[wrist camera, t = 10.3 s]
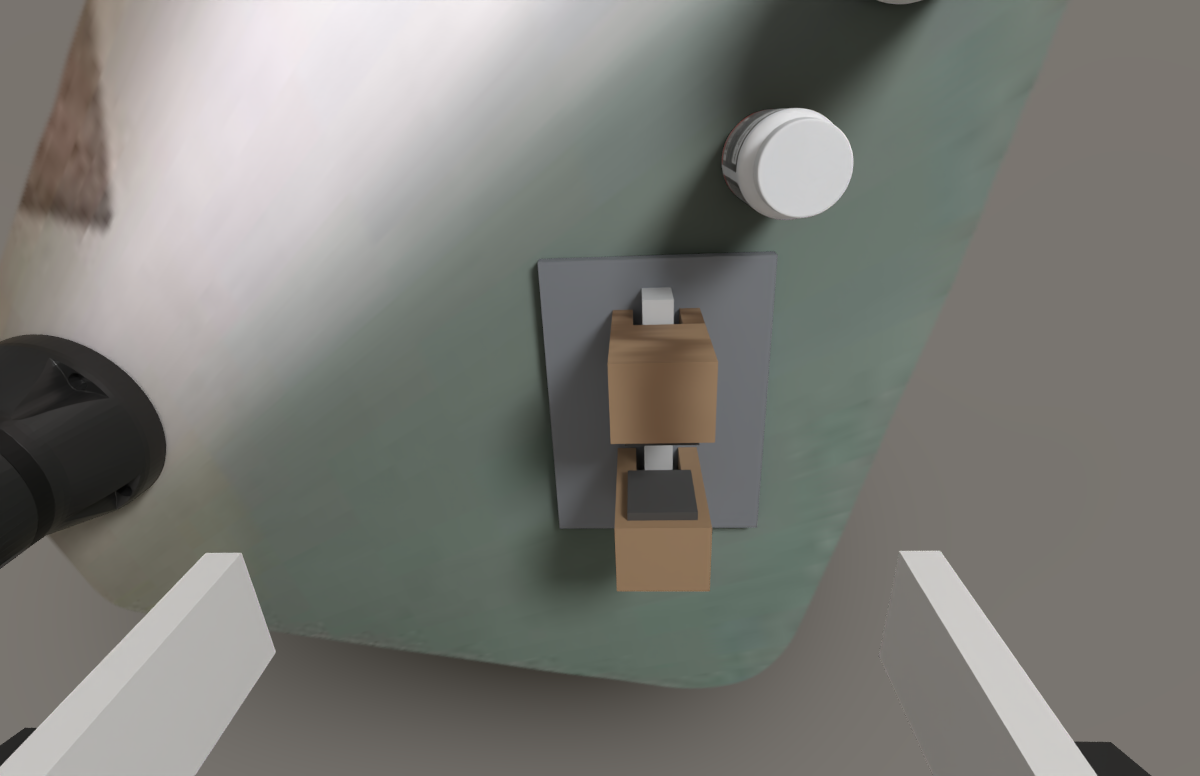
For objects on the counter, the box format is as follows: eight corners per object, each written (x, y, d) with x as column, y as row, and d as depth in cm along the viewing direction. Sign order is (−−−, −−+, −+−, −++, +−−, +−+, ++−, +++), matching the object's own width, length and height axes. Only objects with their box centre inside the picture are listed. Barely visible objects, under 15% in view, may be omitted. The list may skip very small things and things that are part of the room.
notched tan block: (615, 383, 45) (611, 452, 36) (612, 310, 43) (607, 364, 34) (697, 382, 45) (714, 451, 36) (699, 307, 43) (718, 361, 33)
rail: (561, 521, 52) (543, 619, 42) (539, 258, 43) (511, 304, 33) (754, 519, 51) (784, 620, 41) (774, 251, 42) (819, 296, 32)
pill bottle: (818, 188, 40) (872, 211, 31) (731, 215, 41) (759, 245, 32) (801, 94, 38) (855, 90, 29) (710, 125, 39) (735, 130, 30)
